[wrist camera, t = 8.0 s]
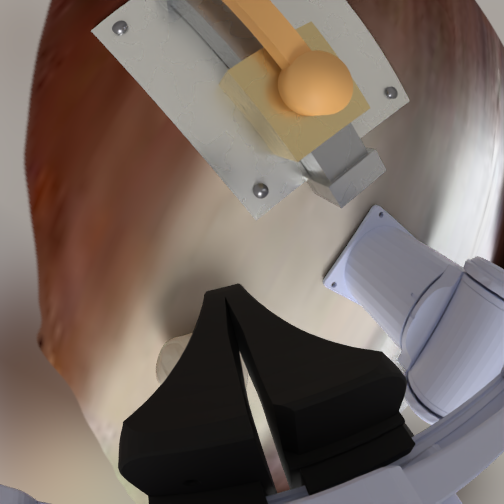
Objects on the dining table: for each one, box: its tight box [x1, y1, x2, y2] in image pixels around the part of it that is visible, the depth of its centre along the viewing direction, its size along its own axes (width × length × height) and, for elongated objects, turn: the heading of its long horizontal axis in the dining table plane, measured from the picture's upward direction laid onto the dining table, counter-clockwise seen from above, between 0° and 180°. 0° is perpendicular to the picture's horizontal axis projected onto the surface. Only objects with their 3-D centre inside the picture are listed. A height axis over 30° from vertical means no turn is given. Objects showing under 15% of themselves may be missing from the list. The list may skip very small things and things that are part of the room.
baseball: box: [156, 333, 248, 387], centre depth 21 cm, size 7×7×7 cm
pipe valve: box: [157, 0, 387, 208], centre depth 15 cm, size 18×6×5 cm, turn 38°
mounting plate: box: [91, 0, 410, 220], centre depth 16 cm, size 18×16×1 cm
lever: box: [222, 0, 353, 116], centre depth 10 cm, size 12×3×2 cm, turn 37°
